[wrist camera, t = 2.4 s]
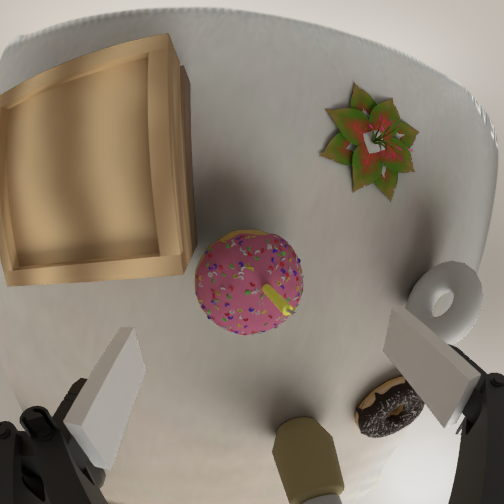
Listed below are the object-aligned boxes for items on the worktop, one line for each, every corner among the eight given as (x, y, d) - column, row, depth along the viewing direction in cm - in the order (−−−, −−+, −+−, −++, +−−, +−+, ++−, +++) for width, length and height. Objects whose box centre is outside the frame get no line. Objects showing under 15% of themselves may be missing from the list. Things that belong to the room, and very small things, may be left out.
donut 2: (432, 245, 27) (493, 270, 18) (445, 261, 28) (502, 287, 18) (384, 315, 29) (433, 362, 19) (400, 327, 30) (447, 372, 20)
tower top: (39, 267, 20) (7, 286, 15) (27, 108, 16) (-6, 98, 11) (193, 253, 21) (183, 274, 16) (179, 62, 17) (168, 33, 12)
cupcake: (261, 203, 25) (292, 222, 13) (306, 279, 27) (357, 344, 15) (181, 254, 25) (148, 312, 14) (231, 323, 27) (237, 409, 16)
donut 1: (392, 363, 31) (406, 380, 27) (429, 384, 34) (441, 398, 30) (338, 418, 33) (346, 437, 29) (382, 431, 35) (391, 446, 32)
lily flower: (343, 66, 22) (362, 50, 18) (428, 130, 25) (454, 125, 20) (295, 162, 25) (309, 158, 20) (391, 220, 27) (416, 228, 22)
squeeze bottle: (320, 440, 34) (355, 535, 16) (267, 447, 33) (286, 551, 16) (329, 406, 32) (377, 515, 14) (269, 414, 31) (294, 536, 14)
